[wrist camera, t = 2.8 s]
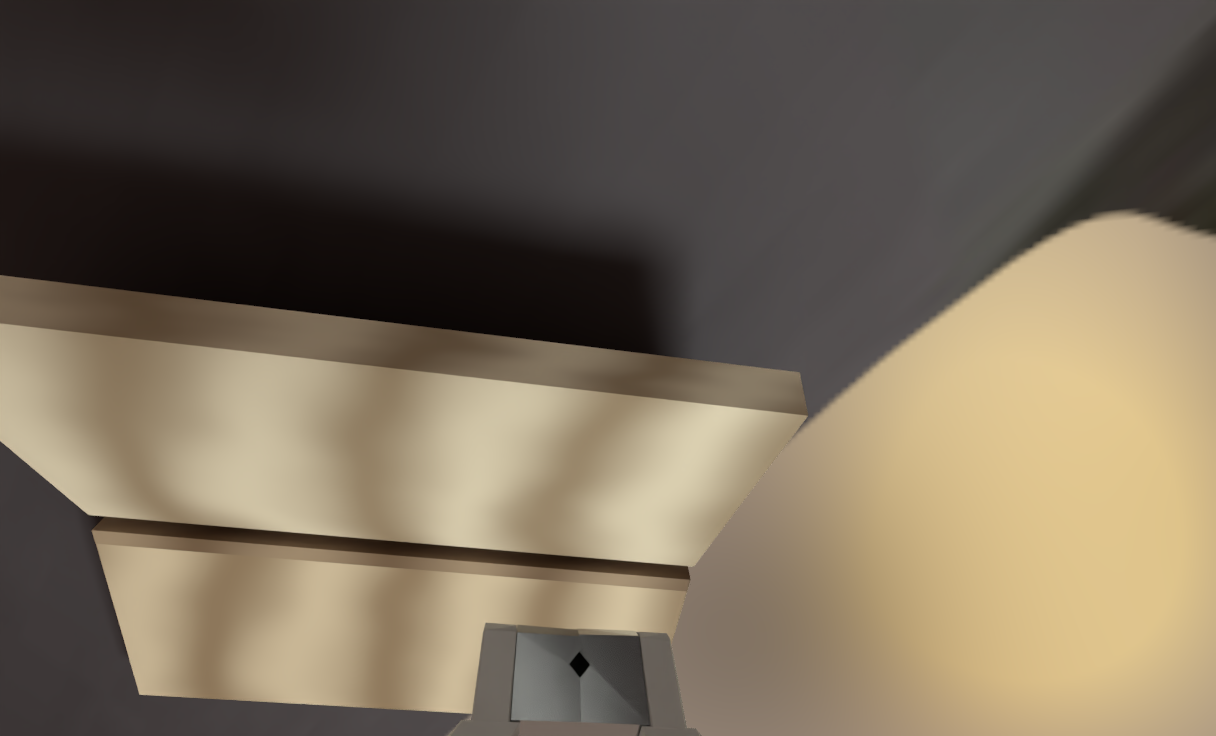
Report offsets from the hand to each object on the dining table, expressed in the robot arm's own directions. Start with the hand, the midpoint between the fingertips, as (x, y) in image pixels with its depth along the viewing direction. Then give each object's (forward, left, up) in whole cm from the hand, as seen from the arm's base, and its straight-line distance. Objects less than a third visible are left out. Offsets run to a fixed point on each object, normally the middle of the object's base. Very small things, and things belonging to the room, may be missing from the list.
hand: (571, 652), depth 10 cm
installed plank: (+6, +16, -14) cm, 22 cm away
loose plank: (+6, +4, -11) cm, 13 cm away
